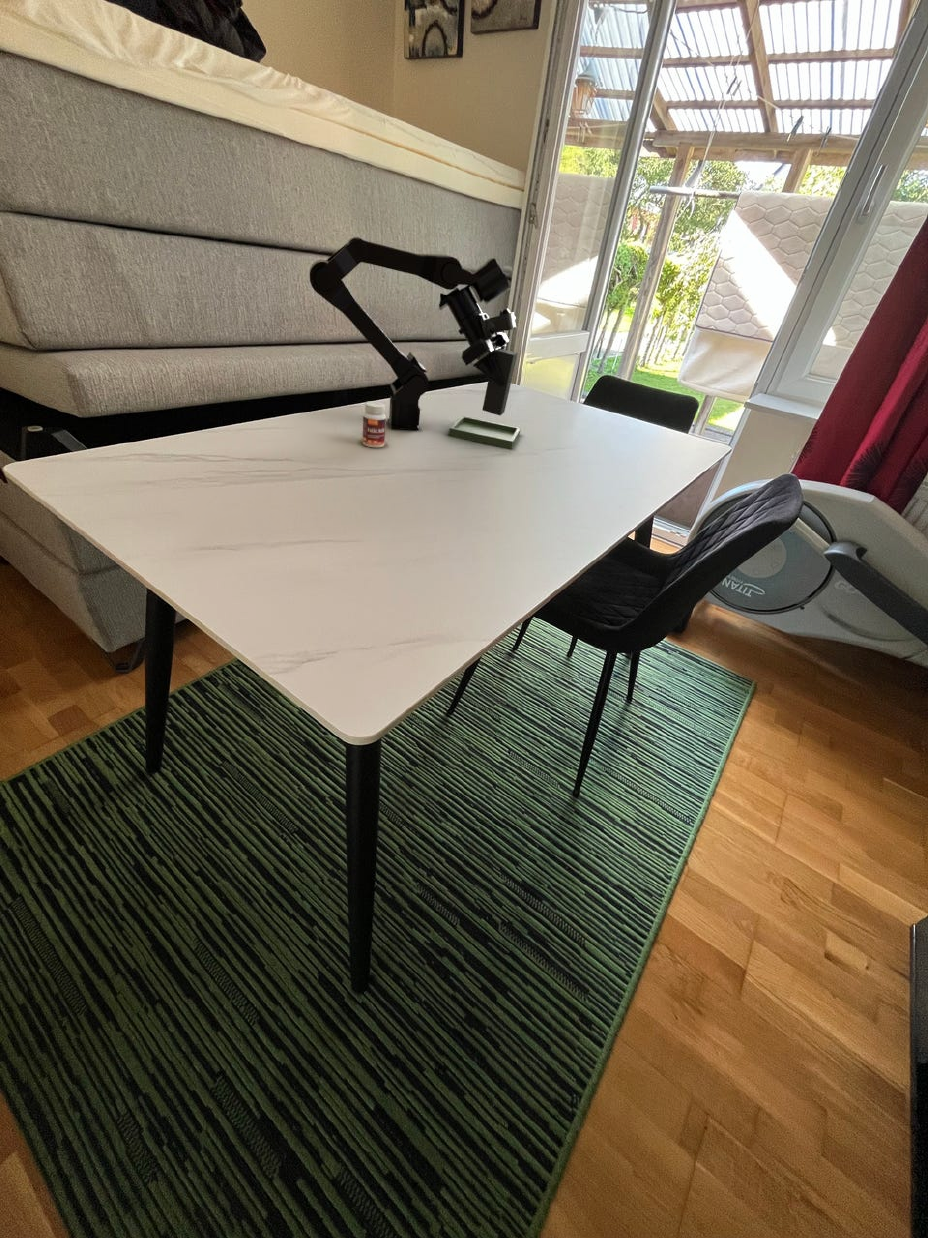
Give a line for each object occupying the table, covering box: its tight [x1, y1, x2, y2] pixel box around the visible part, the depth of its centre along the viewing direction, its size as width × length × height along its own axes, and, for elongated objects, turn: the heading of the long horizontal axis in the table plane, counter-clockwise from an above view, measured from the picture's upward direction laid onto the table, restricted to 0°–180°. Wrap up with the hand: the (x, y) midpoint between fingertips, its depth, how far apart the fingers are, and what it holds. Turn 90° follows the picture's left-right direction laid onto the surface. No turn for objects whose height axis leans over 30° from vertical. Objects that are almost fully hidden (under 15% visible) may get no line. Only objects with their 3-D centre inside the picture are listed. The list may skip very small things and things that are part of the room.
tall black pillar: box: [482, 348, 518, 416], centre depth 118 cm, size 4×4×13 cm
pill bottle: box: [362, 400, 387, 449], centre depth 109 cm, size 5×5×8 cm
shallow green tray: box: [448, 415, 522, 450], centre depth 127 cm, size 16×13×2 cm
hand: (505, 383), depth 118 cm, fingers closed on tall black pillar, 4 cm apart
